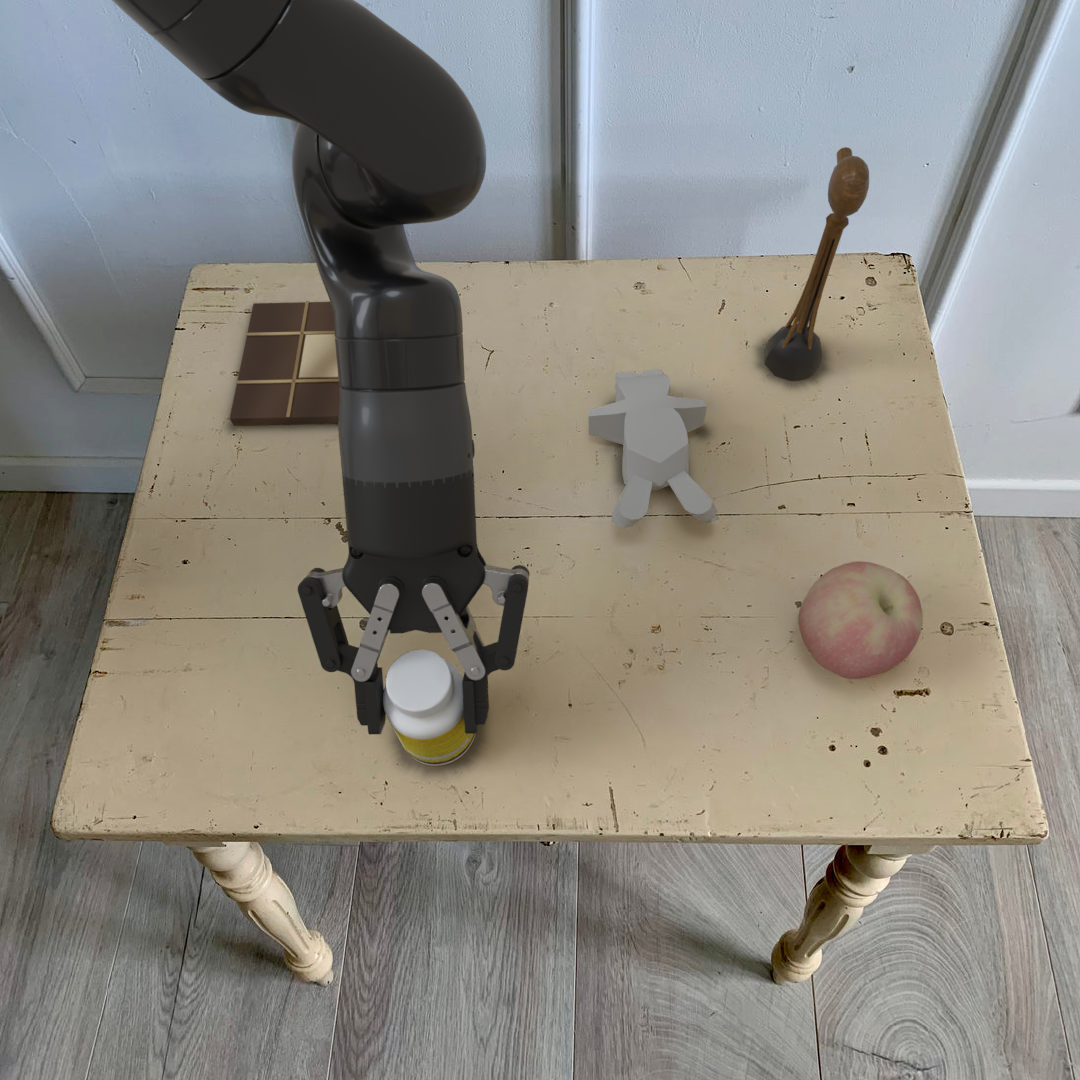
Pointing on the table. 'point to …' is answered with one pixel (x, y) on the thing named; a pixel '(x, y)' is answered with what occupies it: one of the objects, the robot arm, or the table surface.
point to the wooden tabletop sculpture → (818, 275)
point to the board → (288, 366)
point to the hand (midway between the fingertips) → (425, 727)
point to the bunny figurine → (651, 444)
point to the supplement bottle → (427, 707)
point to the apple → (860, 620)
